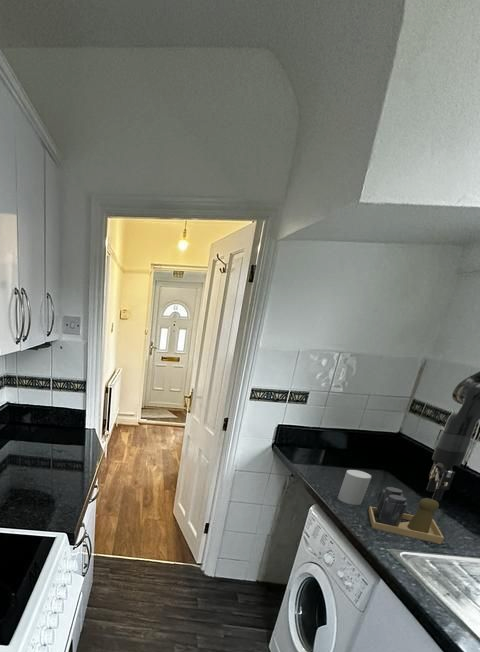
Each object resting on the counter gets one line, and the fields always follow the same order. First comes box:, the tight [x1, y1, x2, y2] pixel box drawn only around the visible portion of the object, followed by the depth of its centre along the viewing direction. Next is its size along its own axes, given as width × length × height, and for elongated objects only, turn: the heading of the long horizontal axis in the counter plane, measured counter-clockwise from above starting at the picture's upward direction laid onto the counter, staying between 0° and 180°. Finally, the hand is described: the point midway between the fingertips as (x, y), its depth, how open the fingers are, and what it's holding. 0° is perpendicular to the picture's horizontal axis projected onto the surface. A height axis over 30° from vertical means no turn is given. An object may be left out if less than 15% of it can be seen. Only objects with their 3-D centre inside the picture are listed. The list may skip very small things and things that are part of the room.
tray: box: [367, 506, 445, 545], centre depth 141 cm, size 19×15×3 cm
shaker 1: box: [373, 486, 404, 519], centre depth 145 cm, size 6×6×11 cm
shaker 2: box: [376, 495, 408, 527], centre depth 138 cm, size 6×6×11 cm
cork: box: [407, 497, 440, 533], centre depth 138 cm, size 6×6×11 cm
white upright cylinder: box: [337, 469, 372, 506], centre depth 157 cm, size 8×8×12 cm
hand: (433, 495), depth 135 cm, fingers open, 8 cm apart
